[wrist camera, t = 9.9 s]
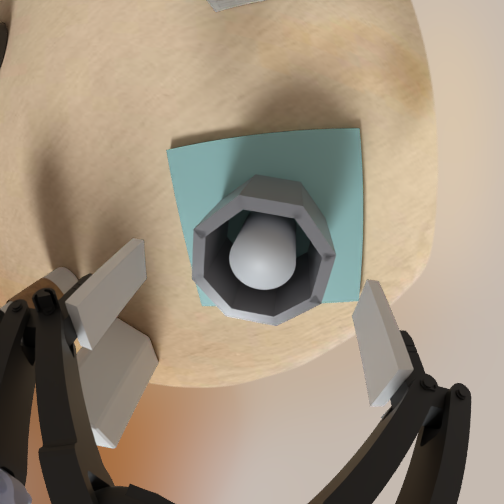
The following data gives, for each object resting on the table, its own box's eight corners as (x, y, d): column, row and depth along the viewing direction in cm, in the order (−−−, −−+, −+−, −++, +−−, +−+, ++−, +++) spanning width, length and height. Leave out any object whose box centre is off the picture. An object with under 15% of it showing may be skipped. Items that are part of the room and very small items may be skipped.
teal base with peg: (170, 149, 22) (128, 160, 16) (357, 128, 19) (382, 129, 13) (204, 301, 29) (182, 345, 23) (357, 296, 26) (370, 343, 20)
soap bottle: (129, 369, 38) (70, 477, 18) (91, 329, 35) (14, 434, 16) (171, 359, 35) (107, 497, 15) (127, 310, 32) (32, 448, 12)
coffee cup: (81, 262, 30) (2, 334, 16) (96, 314, 34) (36, 388, 20) (43, 254, 31) (-27, 311, 17) (59, 302, 34) (1, 363, 21)
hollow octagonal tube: (215, 263, 26) (191, 308, 19) (224, 169, 22) (195, 188, 15) (309, 281, 25) (311, 331, 19) (331, 188, 21) (347, 214, 15)
